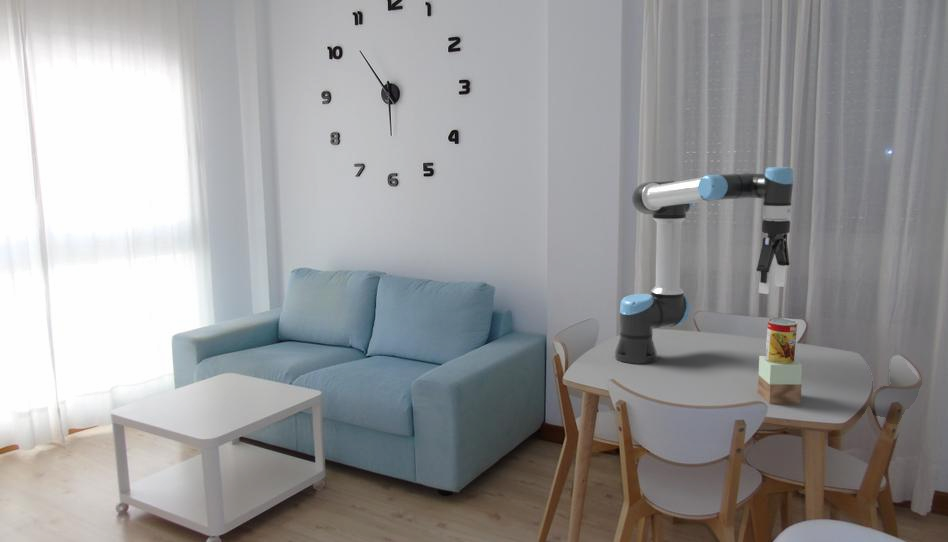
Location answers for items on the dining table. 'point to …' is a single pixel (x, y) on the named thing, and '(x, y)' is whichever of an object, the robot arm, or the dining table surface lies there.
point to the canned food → (781, 340)
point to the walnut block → (779, 392)
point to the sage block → (780, 372)
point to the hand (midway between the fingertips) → (771, 289)
